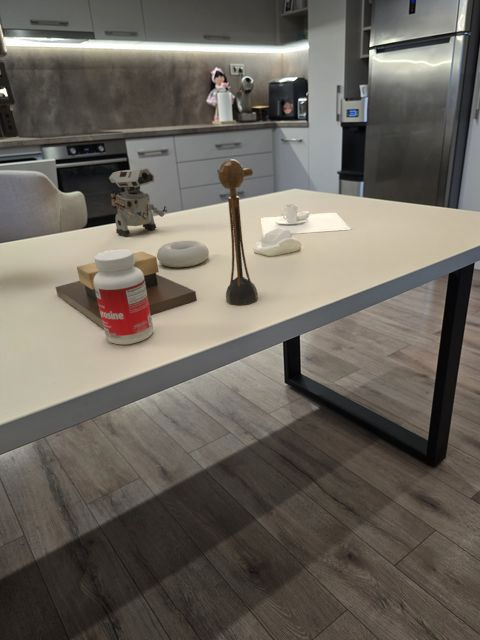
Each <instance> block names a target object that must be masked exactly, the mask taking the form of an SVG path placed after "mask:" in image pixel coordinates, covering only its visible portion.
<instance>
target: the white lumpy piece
mask: <svg viewBox="0 0 480 640" xmlns="http://www.w3.org/2000/svg"><path fill="white" fill-rule="evenodd" d="M301 246H302V243H301V241H299V240H298V239H296V238H295V237H294V236H293V234H291V231H290V230H289V229H288V230H284V229H280V228H277V229H274V230H272V231H270V232H268V233H266V235H265V236H263V235H262V236H261V238H260V240H258V241H257V242H255V244H254V247H253V251H254V253H255V254H258V255H263V256H266V257H275V256H279V255H280V256H281V255H285V254H291V253H294V252H296V251H297V252H298V251H300V250H301Z"/></svg>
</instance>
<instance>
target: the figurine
mask: <svg viewBox="0 0 480 640" xmlns="http://www.w3.org/2000/svg"><path fill="white" fill-rule="evenodd" d="M108 179H109V181H110V183H111V184H116V186H118V187H119V188H123V190H124V191H122V192H120V191H119V190H117V189H115V190H113V191H112V193H110V199H111V208H113V209H116V208H117V209H116V210H117V213H116V214H115V220H114V221H115V229H116V230H115V231H116V234H118V236H123V237H129V236H131V232H130V229H129V227H140V226H142V228H144V229H145V230H150V231H155V230H156V229H157V225H156V222H155V218H154V214H157V215H158V216H159V217H162V218H163V217H164V216H165V212H166V213H168V209H167V206H166V205H164V207H163V209H162V210H159V209H158V207H155V205H154V203H153V204H152V203H151V199H150V194H149V193H147V192H146V193H145V192H144V191H143V190H141V186H145V185H146V186H147V185H148V184H152V183H155V175H154V173H152V171H150V170H149V168H147V167H146V168H136V169H125V170H118V171H114V172H112V173H111V174H110V175H109V178H108ZM114 192H117V194H115V193H114ZM152 211H153V213H152Z"/></svg>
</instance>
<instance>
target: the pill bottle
mask: <svg viewBox="0 0 480 640" xmlns="http://www.w3.org/2000/svg"><path fill="white" fill-rule="evenodd" d="M133 253H134V252H133V250H131V249H121V248H119V249H110V250H104V251H101V252H98V253H96V254H95V255H94V256H93V258H94V263H95V266H96V267H97V269H98V270H99V272H98V273H97V274H96V275H95V277H94V281H93V282H94V288H95V292H96V296H97V301H98V305H99V310H100V314H101V318H102V323H103V327H104V329H103V331H104V336H105V338H106V340H107V341H108V342H110V343H112V344H115V345H132V344H137V343H139V342H142V341H145V340H147V339H148V338H149V337H150V336H151V335H153V331H154V325H153V320H152V315H151V314H150V308H149V302H148V297H147V291H146V285H145V279H144V275H143V273H142V271H141V270H140V269H138V268H136V267H134V264H135V258H134V254H133Z"/></svg>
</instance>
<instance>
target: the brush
mask: <svg viewBox="0 0 480 640" xmlns="http://www.w3.org/2000/svg"><path fill="white" fill-rule="evenodd" d="M133 254H134V258H135V264H134V267H136V268H138V269H140V270H141V271H142V273H143V275H144V279H145V285H146V288H148V287H151V286H155V285H158V283H157V277H156V274H157V273H160V272H159V265H158V259H157V256H155V255H153V254H150V253H147V252H145V251H138V252H133ZM76 269H77V275H78V279H79V281H80V282H81V283H82V284H84V286H85V290H86V294H88V295H89V296H91V297H93V298H94V299H96V300H97V296H96V292H95V288H94V282H93V281H94V277H95V275H96V274H97V273H98V272H99V270H98V269H97V267H96V266H95V262H92V263H87V264H82V265H78V266H76Z"/></svg>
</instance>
